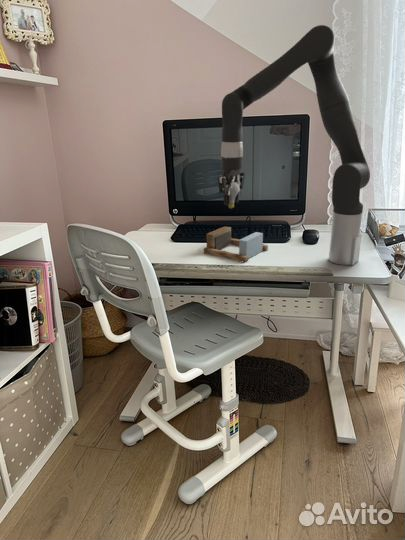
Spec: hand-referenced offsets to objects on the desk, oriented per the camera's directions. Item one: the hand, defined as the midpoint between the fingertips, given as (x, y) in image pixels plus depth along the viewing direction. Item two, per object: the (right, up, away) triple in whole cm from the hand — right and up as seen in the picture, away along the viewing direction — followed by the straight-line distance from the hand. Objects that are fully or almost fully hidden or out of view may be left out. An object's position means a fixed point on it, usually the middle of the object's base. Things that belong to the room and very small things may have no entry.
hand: (231, 203), depth 154 cm
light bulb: (0, -2, +1) cm, 2 cm away
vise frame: (+2, -17, +5) cm, 18 cm away
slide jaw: (+7, -18, +1) cm, 20 cm away
